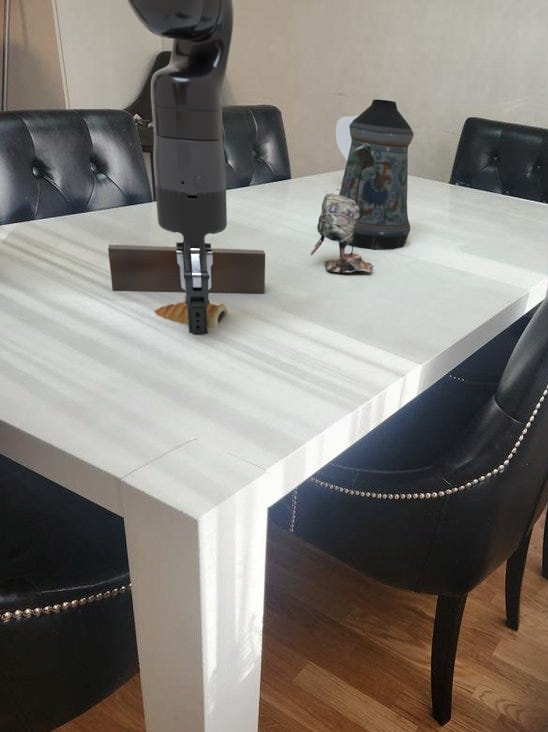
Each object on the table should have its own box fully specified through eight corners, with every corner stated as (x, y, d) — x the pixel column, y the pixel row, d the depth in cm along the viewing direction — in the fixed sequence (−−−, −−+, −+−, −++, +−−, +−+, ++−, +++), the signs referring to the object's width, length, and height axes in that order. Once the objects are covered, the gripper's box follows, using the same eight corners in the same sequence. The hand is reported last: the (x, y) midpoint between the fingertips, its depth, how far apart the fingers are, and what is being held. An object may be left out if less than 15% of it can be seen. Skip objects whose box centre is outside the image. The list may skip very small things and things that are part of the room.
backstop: (112, 290, 94) (107, 248, 90) (113, 286, 95) (108, 244, 92) (264, 293, 99) (265, 253, 96) (262, 289, 101) (263, 250, 98)
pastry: (145, 332, 82) (143, 302, 80) (166, 315, 88) (165, 287, 86) (216, 343, 82) (216, 314, 80) (233, 326, 87) (233, 298, 85)
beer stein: (336, 248, 126) (348, 100, 112) (321, 223, 142) (329, 91, 128) (417, 252, 130) (438, 109, 116) (393, 228, 145) (409, 100, 132)
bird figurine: (315, 258, 118) (323, 136, 107) (376, 267, 118) (390, 145, 107) (306, 270, 112) (313, 141, 101) (371, 279, 111) (385, 150, 100)
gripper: (155, 170, 75) (166, 316, 84) (154, 192, 64) (166, 356, 74) (221, 174, 77) (225, 316, 86) (230, 196, 66) (233, 355, 75)
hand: (198, 334), depth 80 cm, fingers closed
